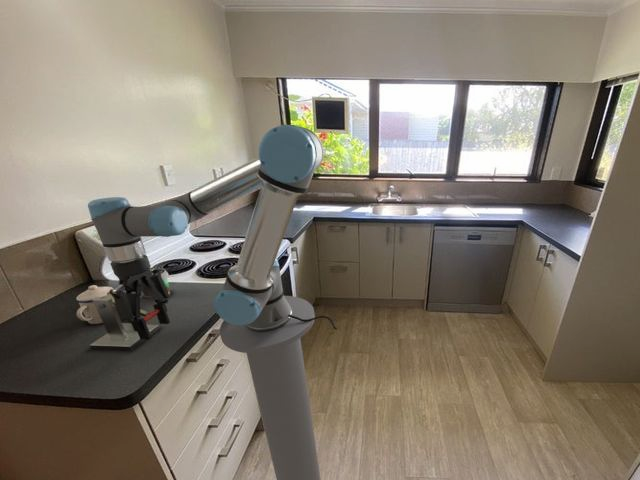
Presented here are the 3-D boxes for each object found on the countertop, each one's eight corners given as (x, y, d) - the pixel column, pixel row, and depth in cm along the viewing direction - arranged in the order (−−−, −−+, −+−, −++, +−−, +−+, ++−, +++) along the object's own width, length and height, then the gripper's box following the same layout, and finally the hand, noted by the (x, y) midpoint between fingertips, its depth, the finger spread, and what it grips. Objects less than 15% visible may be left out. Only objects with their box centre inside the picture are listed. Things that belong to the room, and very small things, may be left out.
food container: (182, 291, 112) (175, 268, 108) (168, 299, 106) (160, 275, 102) (155, 288, 114) (147, 265, 110) (140, 296, 108) (131, 272, 104)
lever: (159, 315, 85) (160, 308, 84) (145, 325, 80) (146, 318, 79) (114, 297, 83) (114, 291, 82) (97, 307, 78) (97, 300, 78)
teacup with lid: (103, 309, 100) (90, 280, 95) (130, 308, 100) (118, 279, 96) (70, 331, 89) (53, 298, 84) (100, 330, 89) (85, 297, 85)
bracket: (159, 328, 90) (144, 287, 84) (131, 350, 80) (112, 305, 75) (123, 327, 90) (105, 286, 85) (91, 349, 81) (69, 304, 75)
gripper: (145, 244, 84) (168, 311, 93) (76, 273, 66) (112, 353, 75) (169, 245, 84) (190, 312, 92) (107, 274, 66) (140, 354, 75)
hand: (155, 330), depth 84 cm, fingers open, 6 cm apart
